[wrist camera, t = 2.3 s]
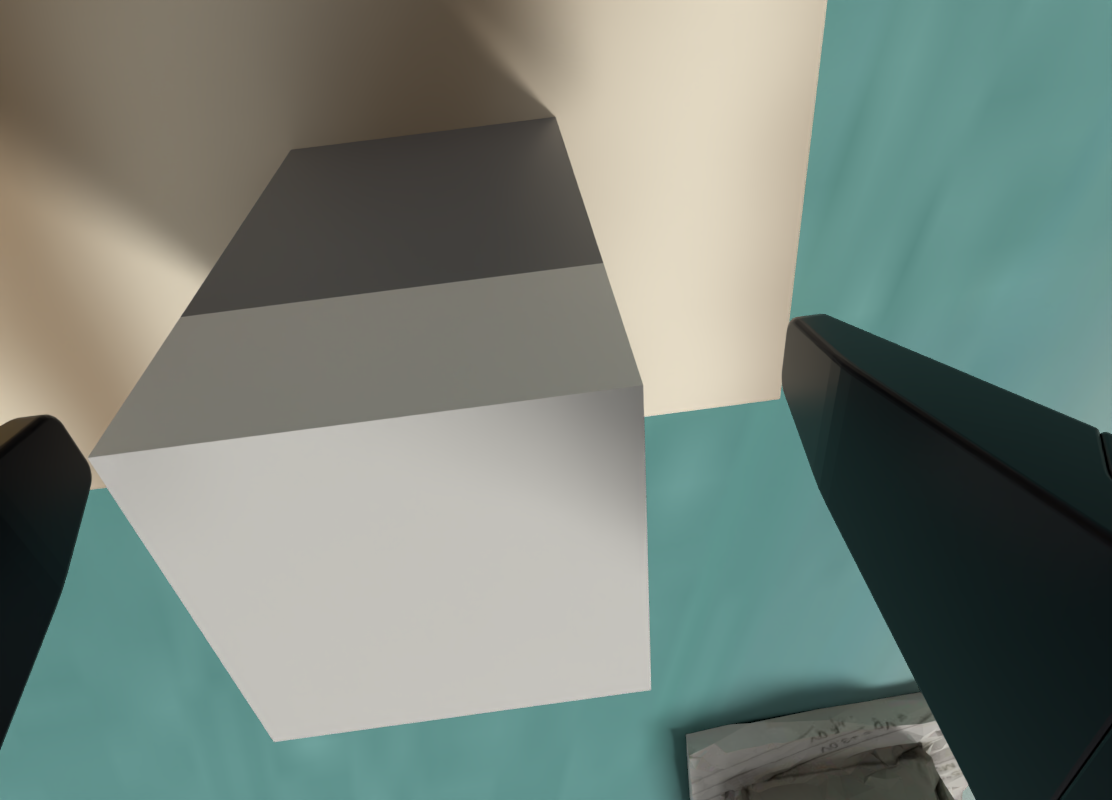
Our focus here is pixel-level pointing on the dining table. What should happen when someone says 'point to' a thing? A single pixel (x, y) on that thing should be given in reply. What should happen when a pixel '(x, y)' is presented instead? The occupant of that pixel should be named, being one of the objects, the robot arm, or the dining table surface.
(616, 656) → the connector plug
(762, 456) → the dining table surface
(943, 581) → the robot arm
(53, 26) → the board
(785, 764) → the packaged product
